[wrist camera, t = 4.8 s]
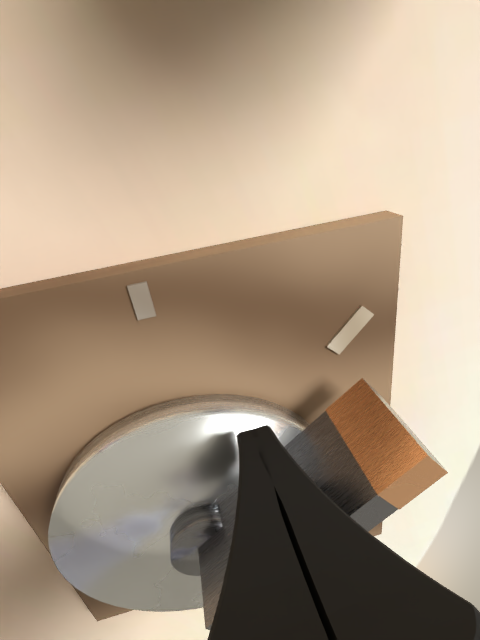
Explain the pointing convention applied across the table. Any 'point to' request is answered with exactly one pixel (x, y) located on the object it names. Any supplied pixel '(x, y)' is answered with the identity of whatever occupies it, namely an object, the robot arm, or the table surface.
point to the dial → (214, 490)
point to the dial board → (191, 342)
